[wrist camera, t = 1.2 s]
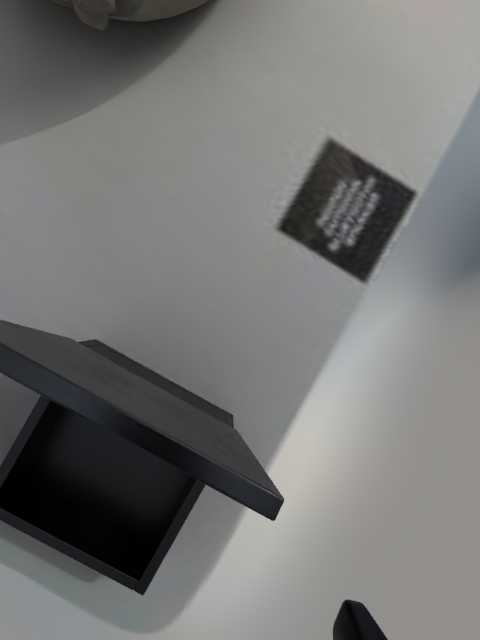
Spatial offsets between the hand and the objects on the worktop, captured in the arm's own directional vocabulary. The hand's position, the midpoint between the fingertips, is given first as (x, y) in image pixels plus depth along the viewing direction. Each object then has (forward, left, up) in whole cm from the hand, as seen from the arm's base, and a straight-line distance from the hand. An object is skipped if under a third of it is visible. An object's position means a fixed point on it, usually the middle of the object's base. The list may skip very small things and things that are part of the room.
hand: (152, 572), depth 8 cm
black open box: (-5, +3, -15) cm, 16 cm away
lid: (+1, +3, -6) cm, 7 cm away
